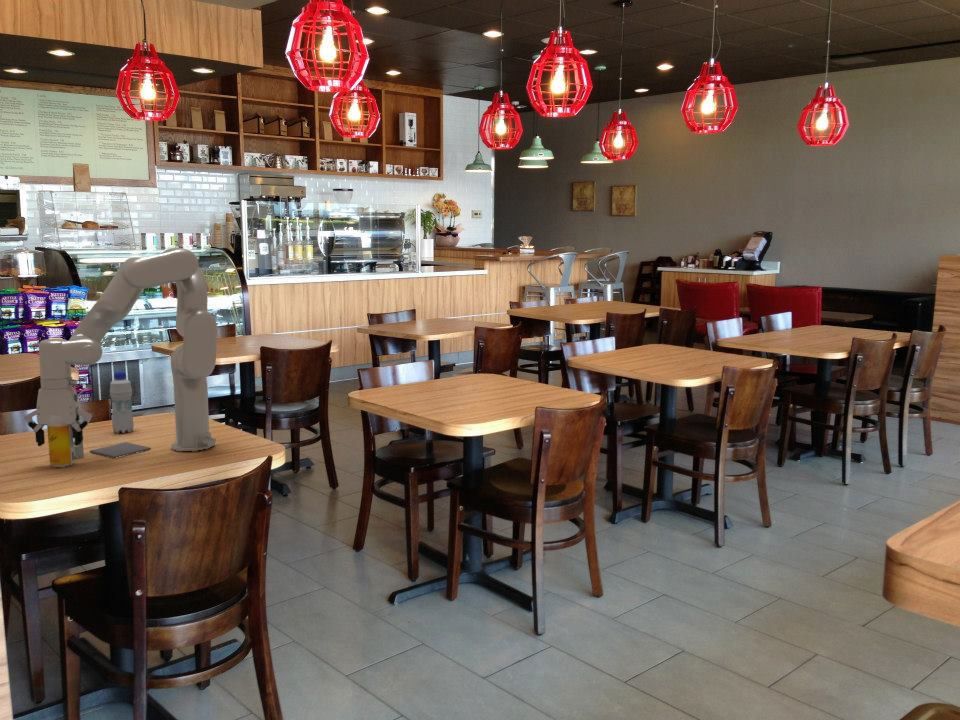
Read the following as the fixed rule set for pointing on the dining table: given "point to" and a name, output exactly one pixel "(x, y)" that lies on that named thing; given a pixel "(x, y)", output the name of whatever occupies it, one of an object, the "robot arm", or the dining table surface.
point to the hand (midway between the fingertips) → (59, 444)
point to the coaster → (120, 449)
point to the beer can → (60, 442)
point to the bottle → (121, 403)
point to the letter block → (78, 449)
